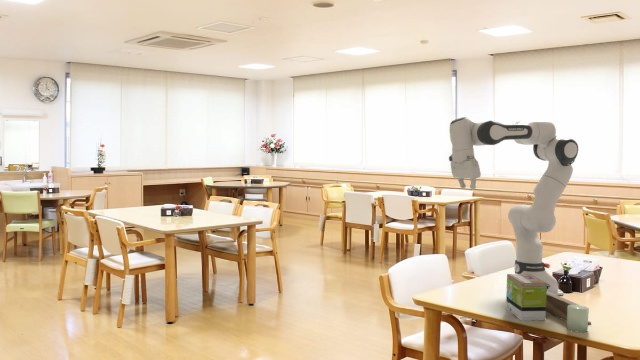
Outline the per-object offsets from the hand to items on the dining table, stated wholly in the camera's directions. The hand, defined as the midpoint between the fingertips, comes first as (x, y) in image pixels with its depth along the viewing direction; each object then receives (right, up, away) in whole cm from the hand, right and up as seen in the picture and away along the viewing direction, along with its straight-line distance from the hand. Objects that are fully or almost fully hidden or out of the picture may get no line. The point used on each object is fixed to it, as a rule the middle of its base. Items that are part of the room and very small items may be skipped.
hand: (468, 188), depth 248 cm
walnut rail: (+32, -49, -20) cm, 62 cm away
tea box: (+17, -49, -20) cm, 56 cm away
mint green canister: (+30, -50, -37) cm, 69 cm away
